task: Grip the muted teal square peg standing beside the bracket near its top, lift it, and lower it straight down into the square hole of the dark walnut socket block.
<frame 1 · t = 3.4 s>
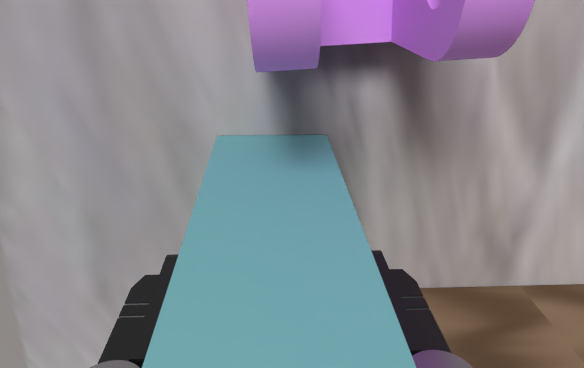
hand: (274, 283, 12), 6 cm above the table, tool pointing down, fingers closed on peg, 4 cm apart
peg: (272, 185, 18), on the table, touching gripper
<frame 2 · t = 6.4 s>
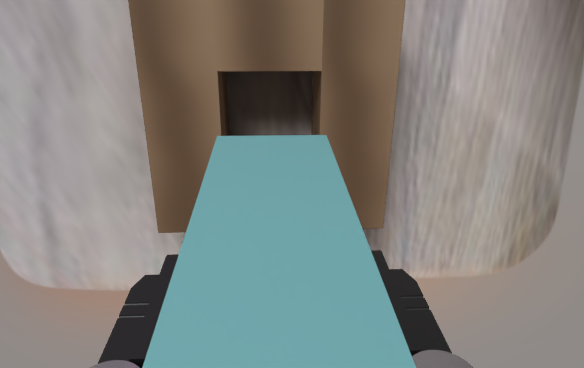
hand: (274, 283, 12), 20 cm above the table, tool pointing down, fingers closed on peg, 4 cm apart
socket block: (270, 100, 30), on the table
peg: (272, 185, 18), point 14 cm above the table, touching gripper
when the fingers open (7 cm above the table, at t = 9.5 s): peg stays where it is, resting in socket block.
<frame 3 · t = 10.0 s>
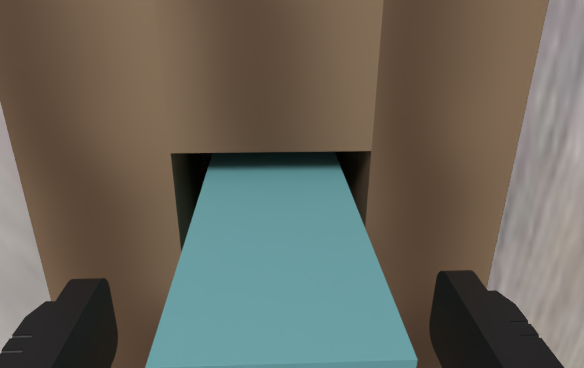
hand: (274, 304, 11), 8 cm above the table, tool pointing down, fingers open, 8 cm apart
socket block: (271, 175, 18), on the table
peg: (273, 174, 18), resting in socket block
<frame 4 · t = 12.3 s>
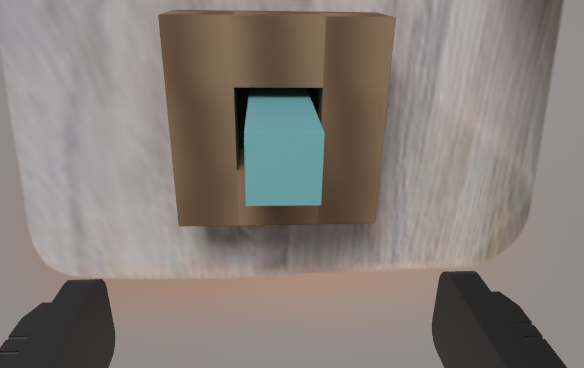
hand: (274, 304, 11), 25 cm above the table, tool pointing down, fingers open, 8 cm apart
socket block: (276, 110, 34), on the table
peg: (277, 110, 34), resting in socket block
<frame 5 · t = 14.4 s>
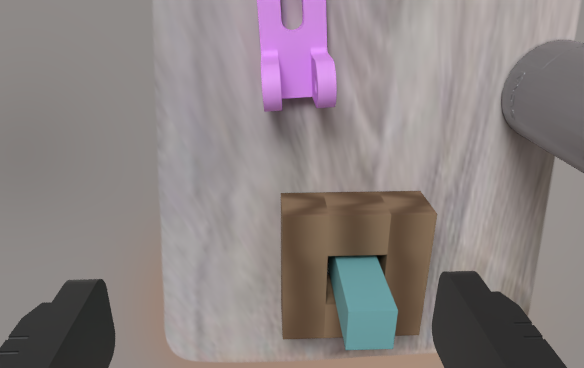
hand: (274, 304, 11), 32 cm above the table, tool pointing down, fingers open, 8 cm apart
socket block: (347, 252, 48), on the table
bracket: (291, 18, 39), on the table
peg: (347, 251, 48), resting in socket block
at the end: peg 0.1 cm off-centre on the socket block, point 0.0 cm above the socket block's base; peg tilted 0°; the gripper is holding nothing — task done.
